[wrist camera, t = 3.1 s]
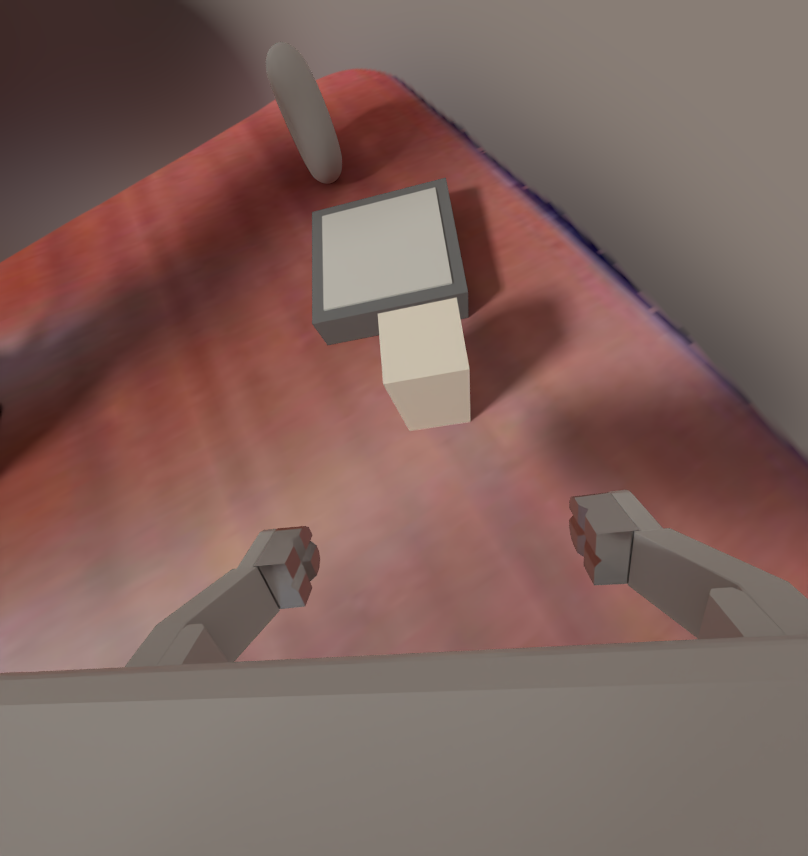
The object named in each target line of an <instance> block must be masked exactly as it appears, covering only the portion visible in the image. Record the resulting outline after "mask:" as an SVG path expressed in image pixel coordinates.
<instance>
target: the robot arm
mask: <svg viewBox="0 0 808 856" xmlns="http://www.w3.org/2000/svg"><path fill="white" fill-rule="evenodd" d="M569 508H570V510H571V512H572V514H573V516H572V517H571V518H570V520H569V529H570V535H571V539H572V542H573V545H574V547H575V549H576V551H577V553H579V554H580V555H582V556H583V557H584V567H585V569H586V571H587V573H588V575H589V577H590V579H591V581H592V583H593V584H594V585H610V584H628V585H629V586H630V587H631V588H632V589H634V590H635V591H636V592H638V593H639V594H640V595H642V596H643V597H644V598H646V599H647V600H648V601H649V602H651V603H652V604H653V605H655V606H656V607H657V608H659V609H660V610H661V611H663V612H664V613H665V614H667V615H668V616H669V617H670V618H672V619H673V620H674V621H676V622H677V623H678V624H680V625H681V626H682V627H684V628H685V629H686V630H688V631H689V632H690V633H691V634H693V635H694V636H695V637H697V638H698V639H696V640H675V641H655V642H634V643H613V644H592V645H572V646H551V647H531V648H511V649H490V650H470V651H449V652H429V653H408V654H387V655H367V656H346V657H326V658H305V659H285V660H264V661H244V662H234V661H235V660H236V659H237V658H238V657H239V655H240V654H241V653H242V652H243V651H244V650H245V649H246V648H247V647H248V645H249V644H250V643H251V642H252V641H253V640H254V639H255V638H256V636H257V635H258V634H259V633H260V632H261V631H262V630H263V629H264V628H265V626H266V625H267V624H268V623H269V622H270V621H271V620H272V619H273V617H274V616H275V615H276V614H277V613H278V612H279V611H280V610H279V609H285V608H294V607H304V606H306V603H307V600H308V598H309V595H310V592H311V590H312V586H311V583H310V581H311V580H312V579H313V578H314V577H316V576H317V573H318V570H319V566H320V555H319V550H318V548H317V545H315V544H314V543H313V542H311V541H310V540H311V537H312V533H311V531H310V529H309V527H306V526H300V527H289V528H278V529H269V530H263V531H261V532H260V533H259V535H258V536H257V538H256V539H255V541H254V542H253V544H252V546H251V547H250V549H249V550H248V552H247V553H246V555H245V557H244V558H243V560H242V561H241V563H240V564H239V566H238V567H237V569H232V570H230V571H229V572H228V573H226V574H225V575H224V576H222V577H221V578H220V579H218V580H217V581H216V582H214V583H213V584H211V585H210V586H209V587H207V588H206V589H205V590H203V591H202V592H201V593H199V594H198V595H197V596H195V597H194V598H192V599H191V600H190V601H188V602H187V603H186V604H184V605H183V606H182V607H180V608H179V609H178V610H176V611H175V612H173V613H172V614H171V615H169V616H168V617H167V618H165V619H164V620H163V621H161V622H160V623H159V624H157V625H156V626H155V627H154V629H153V630H152V631H151V633H150V634H149V635H148V637H147V638H146V639H145V641H144V642H143V643H142V645H141V646H140V647H139V649H138V650H137V651H136V653H135V654H134V655H133V656H132V658H131V659H130V660H129V662H128V663H127V664H126V666H125V667H122V668H102V669H81V670H61V671H41V672H10V673H0V856H808V599H807V598H806V597H805V596H804V595H802V594H801V593H800V592H799V591H798V590H797V589H796V588H795V587H793V586H792V585H791V584H790V583H789V582H787V581H785V580H783V579H781V578H778V577H776V576H774V575H772V574H769V573H767V572H765V571H763V570H761V569H758V568H756V567H754V566H752V565H750V564H747V563H745V562H743V561H741V560H739V559H736V558H734V557H732V556H730V555H728V554H725V553H723V552H721V551H719V550H716V549H714V548H712V547H710V546H708V545H705V544H703V543H701V542H699V541H697V540H694V539H692V538H690V537H688V536H686V535H683V534H681V533H679V532H677V531H675V530H672V529H670V528H665V529H663V528H662V527H661V526H660V524H659V523H658V522H657V521H656V520H655V519H654V518H653V517H652V515H651V514H650V513H649V512H648V511H647V510H646V509H645V507H644V506H643V505H642V504H641V503H640V502H639V501H638V500H637V498H636V497H635V496H634V495H633V494H632V493H631V492H630V491H628V490H619V491H612V492H607V493H599V494H590V495H582V496H573V497H571V498H570V501H569Z"/></svg>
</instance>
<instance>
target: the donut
mask: <svg viewBox="0 0 808 856" xmlns="http://www.w3.org/2000/svg"><path fill="white" fill-rule="evenodd" d="M266 71H267V76H268V79H269V82H270V85H271V88H272V91H273V94H274V96H275V99H276V101H277V104H278V106H279V108H280V111H281V113H282V115H283V118H284V120H285V122H286V125H287V127H288V129H289V131H290V133H291V136H292V138H293V140H294V142H295V144H296V146H297V148H298V151H299V153H300V155H301V157H302V159H303V161H304V163H305V164H306V166H307V168H308V170H309V171H310V173H311V175H312V176H313V177H314V178H315V179H316V180H318V181H320V182H322V183H327V184H329V183H333V182H334V181H336V180H337V179H338V177H339V176H340V174H341V170H342V155H341V150H340V146H339V143H338V139H337V136H336V133H335V130H334V127H333V124H332V121H331V118H330V115H329V112H328V110H327V107H326V105H325V102H324V99H323V97H322V95H321V92H320V90H319V88H318V85H317V83H316V81H315V78H314V77H313V74H312V72H311V70H310V68H309V66H308V64H307V63H306V61H305V59H304V58H303V56H302V55H301V54H300V53H299V52H298V50H296V49H295V48H294V47H292V46H291V45H290V44H288V43H284V42H279V43H276V44H274V45H273V46H272V47H271V48H270V50H269V52H268V54H267V59H266Z"/></svg>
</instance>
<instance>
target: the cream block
mask: <svg viewBox="0 0 808 856" xmlns="http://www.w3.org/2000/svg"><path fill="white" fill-rule="evenodd" d="M378 325H379V337H380V349H381V362H382V374H383V384H384V386H385V388H386V390H387V392H388V393H389V395H390V397H391V399H392V401H393V402H394V404H395V406H396V408H397V409H398V411H399V413H400V415H401V417H402V418H403V420H404V422H405V424H406V425H407V427H408V429H409V431H413V430H420V429H426V428H433V427H439V426H446V425H453V424H459V423H466V422H470V371H469V364H468V358H467V353H466V347H465V342H464V336H463V330H462V325H461V319H460V314H459V308H458V303H457V297H456V298H451V299H447V300H442V301H437V302H432V303H427V304H422V305H417V306H413V307H408V308H403V309H398V310H393V311H388V312H383V313H379V314H378Z"/></svg>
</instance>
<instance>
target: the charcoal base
mask: <svg viewBox="0 0 808 856" xmlns="http://www.w3.org/2000/svg"><path fill="white" fill-rule="evenodd" d="M456 297H457V303H458V308H459V314H460V319H464V318H468V289H467V284H466V279H465V274H464V269H463V264H462V259H461V253H460V248H459V243H458V238H457V233H456V228H455V223H454V218H453V212H452V207H451V202H450V197H449V192H448V187H447V182H446V178H443V179H439V180H435V181H431V182H427V183H423V184H419V185H415V186H412V187H408V188H404V189H400V190H396V191H392V192H388V193H384V194H381V195H377V196H373V197H369V198H365V199H361V200H357V201H354V202H350V203H346V204H342V205H338V206H334V207H330V208H326V209H323V210H319V211H315V212H312V324H313V326H314V327H315V328H316V330H317V331H318V333H319V334H320V335H321V337H322V338H323V339H324V341H325V342H326V343H327V345H331V344H336V343H341V342H346V341H351V340H356V339H362V338H367V337H372V336H377V335H379V325H378V314H379V313H383V312H388V311H393V310H398V309H403V308H408V307H413V306H417V305H422V304H427V303H432V302H437V301H442V300H447V299H451V298H456Z"/></svg>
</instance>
